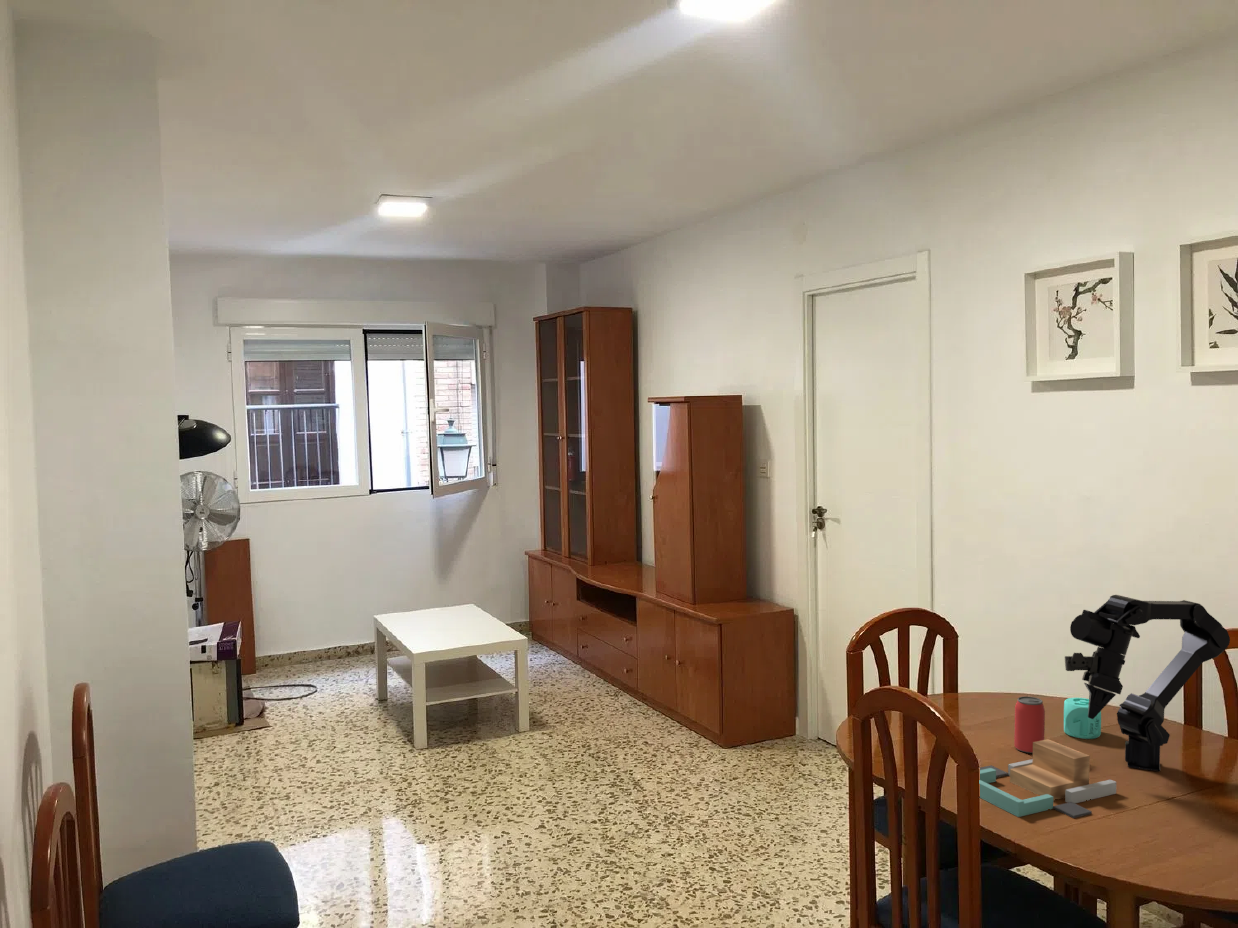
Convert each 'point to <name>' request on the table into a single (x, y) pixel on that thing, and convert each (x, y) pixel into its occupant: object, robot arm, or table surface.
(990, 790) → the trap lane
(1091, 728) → the decorative dice
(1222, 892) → the table surface
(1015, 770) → the step block
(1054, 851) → the table surface
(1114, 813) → the table surface
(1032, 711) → the beer can
